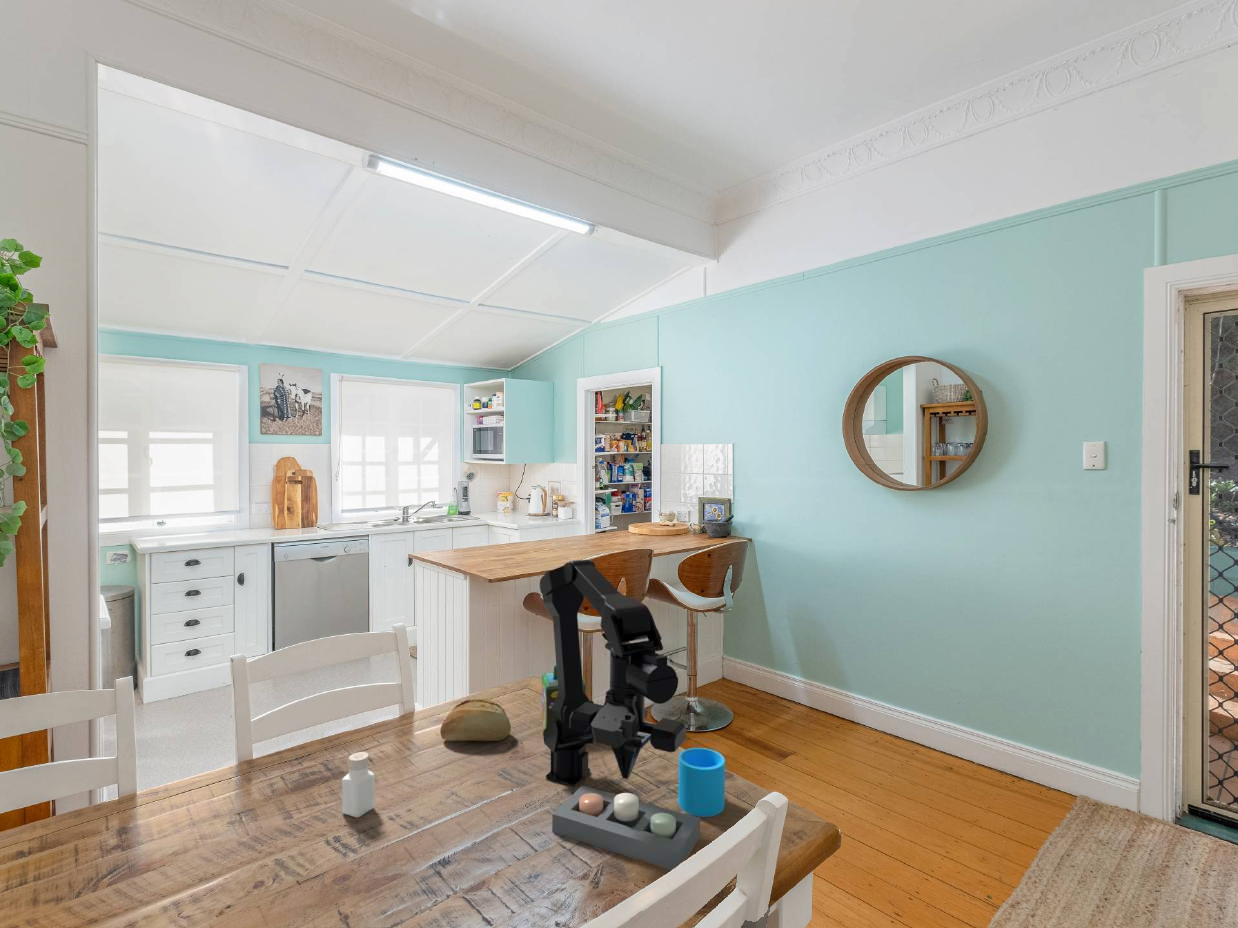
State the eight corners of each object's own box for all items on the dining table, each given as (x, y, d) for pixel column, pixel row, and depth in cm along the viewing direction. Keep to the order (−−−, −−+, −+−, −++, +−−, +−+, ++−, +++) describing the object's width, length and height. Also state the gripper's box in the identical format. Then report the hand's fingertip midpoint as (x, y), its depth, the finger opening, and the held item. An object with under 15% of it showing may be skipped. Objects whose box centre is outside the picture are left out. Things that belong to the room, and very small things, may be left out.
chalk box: (579, 718, 148) (580, 655, 148) (586, 734, 139) (587, 668, 139) (540, 721, 146) (541, 658, 146) (545, 738, 137) (545, 671, 137)
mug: (730, 815, 108) (730, 768, 108) (684, 818, 107) (684, 770, 107) (711, 780, 120) (712, 737, 120) (669, 782, 119) (670, 739, 119)
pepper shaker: (375, 808, 109) (376, 753, 109) (357, 819, 105) (358, 763, 105) (358, 802, 111) (359, 748, 111) (340, 814, 107) (340, 758, 107)
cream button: (609, 817, 101) (609, 802, 101) (620, 805, 105) (620, 790, 105) (632, 823, 100) (632, 808, 100) (642, 811, 103) (642, 796, 103)
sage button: (646, 838, 98) (646, 823, 98) (656, 825, 102) (656, 810, 102) (670, 845, 97) (670, 829, 97) (679, 831, 100) (679, 816, 100)
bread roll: (442, 731, 140) (443, 695, 140) (510, 727, 143) (511, 692, 143) (437, 751, 131) (438, 713, 131) (510, 746, 133) (511, 709, 133)
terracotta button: (574, 816, 104) (574, 802, 104) (586, 804, 108) (586, 791, 108) (596, 823, 102) (596, 808, 102) (607, 810, 106) (607, 796, 106)
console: (552, 832, 103) (552, 813, 103) (582, 802, 112) (582, 785, 112) (678, 872, 93) (678, 852, 93) (700, 836, 102) (700, 818, 102)
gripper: (552, 688, 99) (551, 786, 99) (661, 710, 91) (660, 817, 91) (586, 667, 109) (585, 757, 109) (688, 686, 101) (686, 782, 101)
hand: (626, 777), depth 102 cm, fingers closed
